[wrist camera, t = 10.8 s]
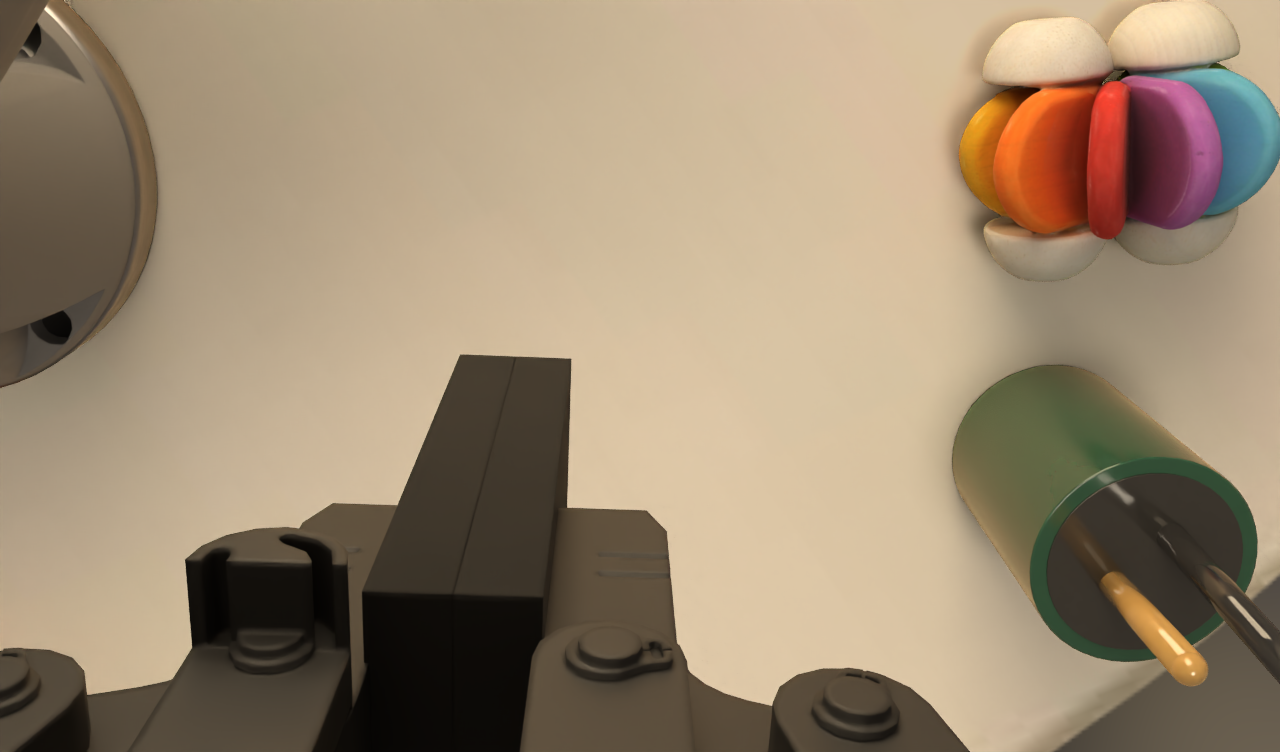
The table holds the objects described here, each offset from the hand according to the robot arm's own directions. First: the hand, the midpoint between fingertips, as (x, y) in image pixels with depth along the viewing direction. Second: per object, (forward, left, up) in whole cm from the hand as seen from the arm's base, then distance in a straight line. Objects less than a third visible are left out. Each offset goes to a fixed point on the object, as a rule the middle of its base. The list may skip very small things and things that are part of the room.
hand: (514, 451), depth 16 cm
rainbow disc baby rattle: (+18, +2, -27) cm, 32 cm away
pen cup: (+18, -10, -26) cm, 33 cm away
